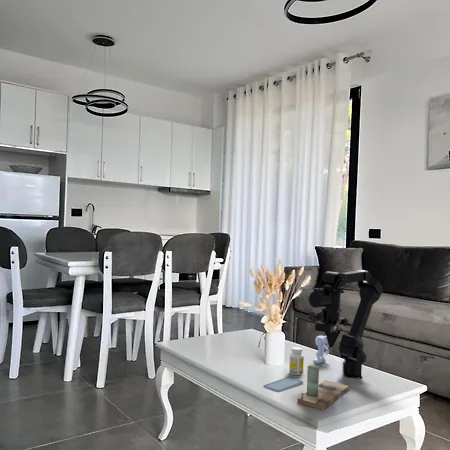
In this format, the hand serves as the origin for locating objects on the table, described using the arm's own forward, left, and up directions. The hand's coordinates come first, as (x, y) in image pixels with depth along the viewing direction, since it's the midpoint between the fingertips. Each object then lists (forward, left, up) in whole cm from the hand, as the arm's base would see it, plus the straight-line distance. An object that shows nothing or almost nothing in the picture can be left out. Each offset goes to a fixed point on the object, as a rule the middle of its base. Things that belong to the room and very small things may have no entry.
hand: (330, 347), depth 171 cm
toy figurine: (+1, -26, -13) cm, 29 cm away
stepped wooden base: (+3, +15, -13) cm, 20 cm away
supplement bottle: (+12, -8, -13) cm, 20 cm away
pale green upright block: (+9, +24, -11) cm, 28 cm away
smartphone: (+17, +7, -14) cm, 23 cm away
